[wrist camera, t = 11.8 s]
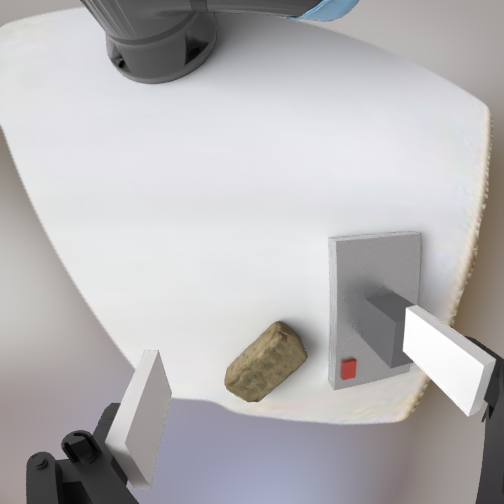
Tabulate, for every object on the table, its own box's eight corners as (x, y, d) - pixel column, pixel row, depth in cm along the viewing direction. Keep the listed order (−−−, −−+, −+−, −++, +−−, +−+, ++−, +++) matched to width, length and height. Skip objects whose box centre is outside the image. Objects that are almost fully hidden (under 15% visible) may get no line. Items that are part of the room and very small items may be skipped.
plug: (356, 292, 42) (395, 322, 30) (386, 287, 42) (430, 314, 31) (355, 330, 43) (390, 368, 31) (384, 324, 43) (424, 358, 32)
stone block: (221, 370, 42) (221, 389, 37) (276, 315, 42) (283, 329, 37) (251, 390, 43) (254, 410, 38) (305, 338, 43) (314, 354, 38)
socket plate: (328, 237, 40) (337, 241, 36) (409, 231, 41) (423, 234, 37) (328, 379, 44) (335, 392, 40) (400, 363, 45) (410, 373, 41)
